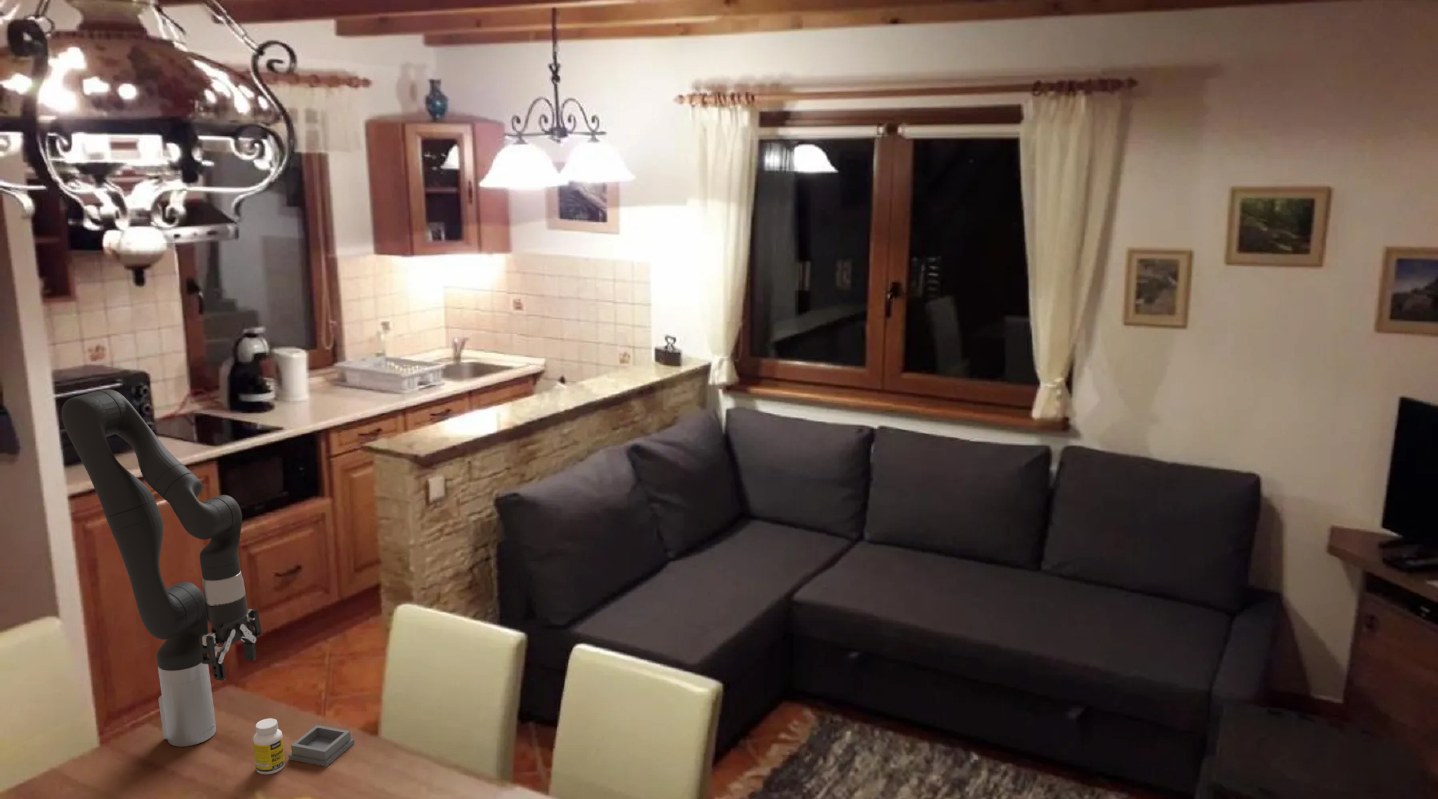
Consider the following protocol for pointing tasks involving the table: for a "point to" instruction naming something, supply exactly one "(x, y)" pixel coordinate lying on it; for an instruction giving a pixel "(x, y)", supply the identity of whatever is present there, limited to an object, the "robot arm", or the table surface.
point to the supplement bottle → (268, 747)
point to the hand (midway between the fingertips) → (235, 669)
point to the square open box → (321, 745)
